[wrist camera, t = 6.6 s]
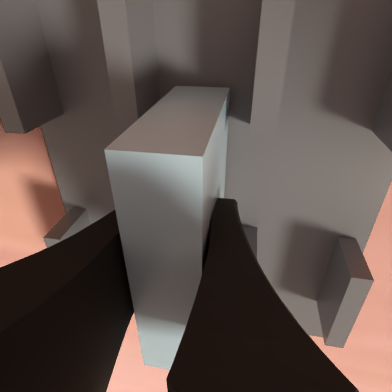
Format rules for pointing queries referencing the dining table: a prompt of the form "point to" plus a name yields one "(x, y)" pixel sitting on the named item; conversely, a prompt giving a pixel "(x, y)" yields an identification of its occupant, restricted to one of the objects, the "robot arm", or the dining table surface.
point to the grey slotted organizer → (237, 120)
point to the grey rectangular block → (168, 208)
